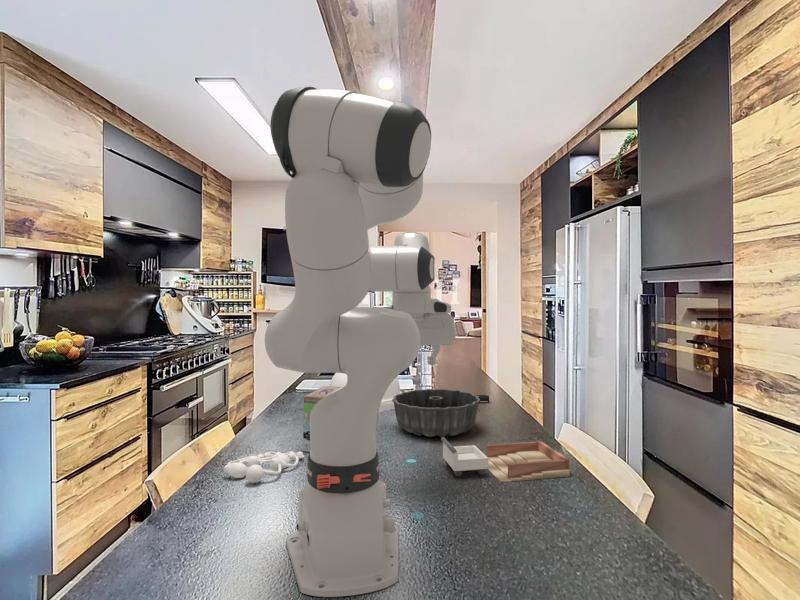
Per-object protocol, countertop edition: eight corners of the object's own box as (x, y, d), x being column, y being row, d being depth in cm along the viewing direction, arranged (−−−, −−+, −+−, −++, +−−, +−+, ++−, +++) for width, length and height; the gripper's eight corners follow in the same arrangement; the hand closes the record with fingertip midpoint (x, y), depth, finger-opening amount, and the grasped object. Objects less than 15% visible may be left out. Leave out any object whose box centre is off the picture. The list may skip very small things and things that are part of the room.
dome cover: (314, 398, 185) (314, 362, 185) (384, 391, 198) (384, 358, 198) (339, 417, 156) (339, 375, 156) (419, 408, 169) (419, 369, 169)
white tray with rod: (488, 475, 106) (488, 447, 105) (452, 478, 104) (452, 449, 104) (474, 461, 114) (474, 435, 114) (440, 464, 113) (441, 437, 113)
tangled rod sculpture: (276, 456, 123) (275, 440, 123) (318, 462, 115) (317, 445, 116) (213, 479, 106) (212, 461, 106) (257, 487, 99) (257, 467, 99)
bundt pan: (380, 438, 133) (380, 403, 133) (406, 415, 158) (406, 386, 158) (472, 448, 125) (472, 410, 125) (484, 422, 151) (485, 391, 150)
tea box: (338, 455, 120) (338, 397, 119) (301, 452, 122) (301, 395, 121) (355, 437, 134) (355, 386, 134) (322, 435, 136) (322, 384, 136)
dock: (571, 476, 106) (571, 460, 106) (500, 482, 102) (500, 465, 102) (537, 452, 121) (537, 438, 121) (475, 457, 118) (475, 442, 118)
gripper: (368, 306, 102) (368, 369, 102) (458, 305, 106) (457, 366, 106) (364, 305, 108) (364, 364, 108) (449, 304, 112) (449, 361, 113)
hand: (411, 365), depth 107 cm, fingers open, 8 cm apart
